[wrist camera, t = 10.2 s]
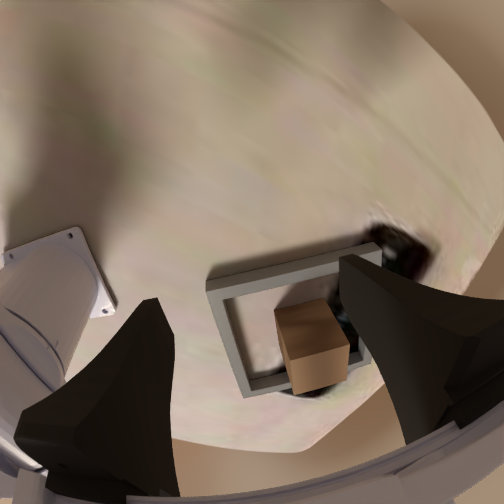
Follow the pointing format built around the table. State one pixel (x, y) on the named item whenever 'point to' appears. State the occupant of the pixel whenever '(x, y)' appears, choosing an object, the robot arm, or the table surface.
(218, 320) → the tray frame
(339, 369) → the walnut block
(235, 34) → the table surface
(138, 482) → the robot arm
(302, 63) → the table surface
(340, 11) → the table surface
